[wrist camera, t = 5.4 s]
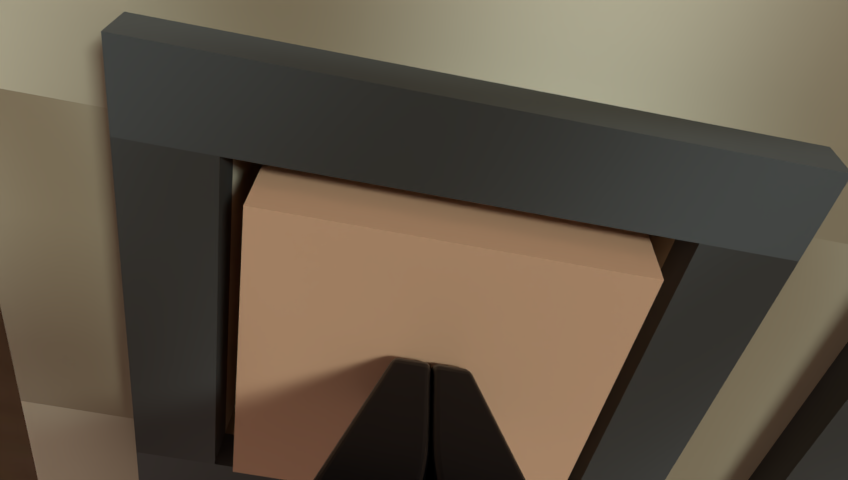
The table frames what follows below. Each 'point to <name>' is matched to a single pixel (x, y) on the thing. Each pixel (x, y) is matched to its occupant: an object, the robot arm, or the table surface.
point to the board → (435, 175)
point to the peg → (425, 315)
